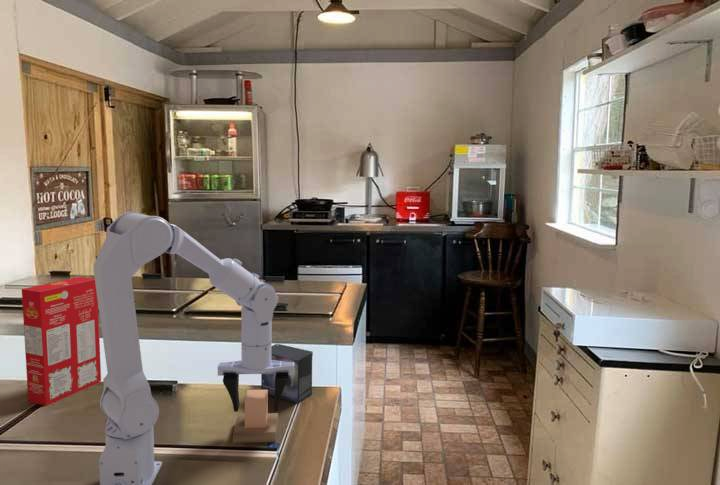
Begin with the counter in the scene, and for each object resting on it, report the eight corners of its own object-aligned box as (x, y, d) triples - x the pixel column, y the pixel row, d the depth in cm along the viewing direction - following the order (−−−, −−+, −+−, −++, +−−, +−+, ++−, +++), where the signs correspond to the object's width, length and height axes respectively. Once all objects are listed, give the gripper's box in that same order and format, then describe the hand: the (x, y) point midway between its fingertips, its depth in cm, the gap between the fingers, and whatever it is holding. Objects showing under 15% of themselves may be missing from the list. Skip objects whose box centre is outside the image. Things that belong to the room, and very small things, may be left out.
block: (265, 427, 103) (265, 398, 102) (244, 427, 103) (244, 398, 102) (267, 418, 107) (267, 389, 106) (247, 418, 106) (247, 389, 106)
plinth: (275, 442, 102) (275, 432, 101) (232, 442, 101) (232, 432, 101) (278, 422, 109) (278, 413, 109) (238, 422, 109) (238, 413, 108)
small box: (259, 394, 123) (259, 350, 122) (276, 384, 129) (276, 342, 127) (297, 404, 118) (297, 359, 117) (313, 394, 124) (313, 350, 122)
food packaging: (84, 377, 129) (80, 276, 126) (101, 381, 128) (97, 278, 124) (28, 401, 116) (21, 289, 112) (46, 405, 114) (39, 291, 111)
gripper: (295, 335, 107) (294, 399, 109) (221, 335, 106) (222, 400, 108) (293, 347, 100) (293, 415, 102) (215, 347, 99) (216, 416, 101)
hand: (256, 409), depth 104 cm, fingers open, 7 cm apart
